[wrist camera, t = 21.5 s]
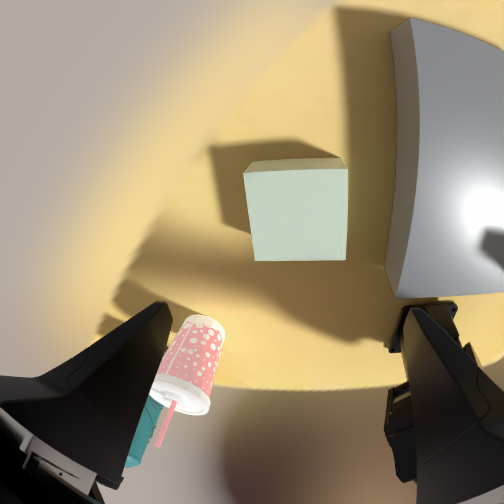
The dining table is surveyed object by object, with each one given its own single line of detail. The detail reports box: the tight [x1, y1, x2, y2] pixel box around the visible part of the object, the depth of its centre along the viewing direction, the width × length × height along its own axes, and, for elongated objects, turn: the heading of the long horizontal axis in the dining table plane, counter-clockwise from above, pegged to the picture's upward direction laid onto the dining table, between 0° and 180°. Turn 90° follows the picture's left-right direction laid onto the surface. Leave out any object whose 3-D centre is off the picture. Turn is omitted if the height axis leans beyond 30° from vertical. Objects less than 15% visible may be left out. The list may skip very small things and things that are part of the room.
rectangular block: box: [243, 158, 348, 261], centre depth 18 cm, size 6×6×4 cm
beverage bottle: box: [94, 352, 166, 490], centre depth 24 cm, size 6×7×20 cm
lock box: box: [384, 18, 504, 298], centre depth 13 cm, size 18×14×4 cm
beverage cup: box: [149, 314, 225, 448], centre depth 22 cm, size 6×6×14 cm
